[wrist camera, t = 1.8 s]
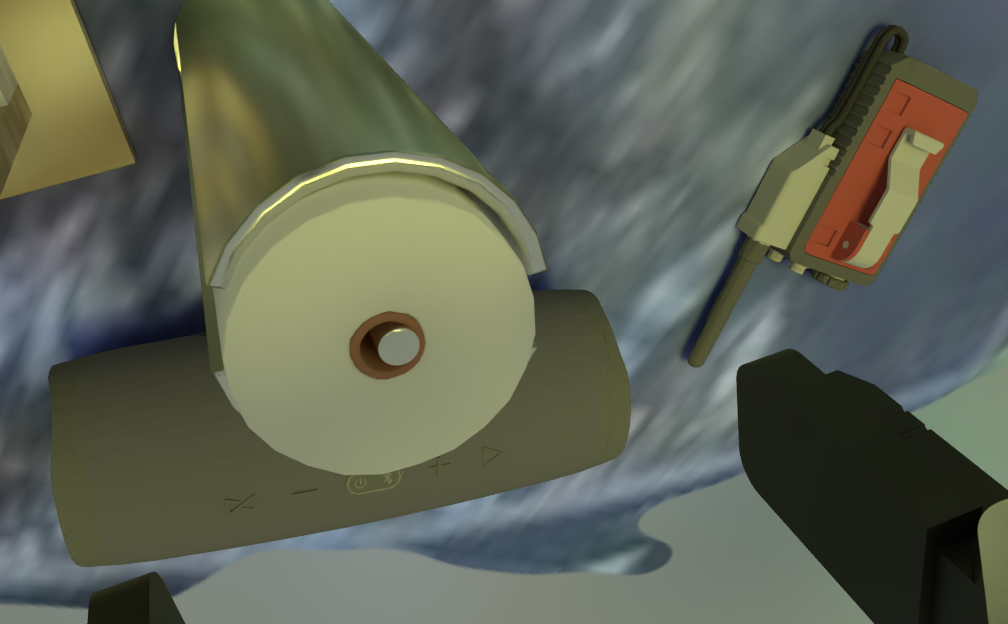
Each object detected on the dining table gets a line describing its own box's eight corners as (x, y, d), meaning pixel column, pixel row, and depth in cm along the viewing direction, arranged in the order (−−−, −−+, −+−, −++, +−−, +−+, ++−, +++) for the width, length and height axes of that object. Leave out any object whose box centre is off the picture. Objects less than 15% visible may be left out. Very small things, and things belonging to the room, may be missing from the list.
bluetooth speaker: (98, 478, 44) (86, 636, 35) (56, 303, 39) (30, 437, 31) (548, 398, 50) (627, 516, 42) (555, 241, 46) (645, 337, 37)
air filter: (289, 152, 39) (446, 536, 19) (143, 72, 36) (132, 430, 15) (369, 19, 38) (636, 274, 17) (224, -76, 35) (335, 94, 14)
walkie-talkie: (844, 2, 45) (665, 350, 52) (905, 19, 41) (704, 391, 48) (960, 62, 49) (780, 378, 56) (1025, 82, 45) (825, 418, 52)
